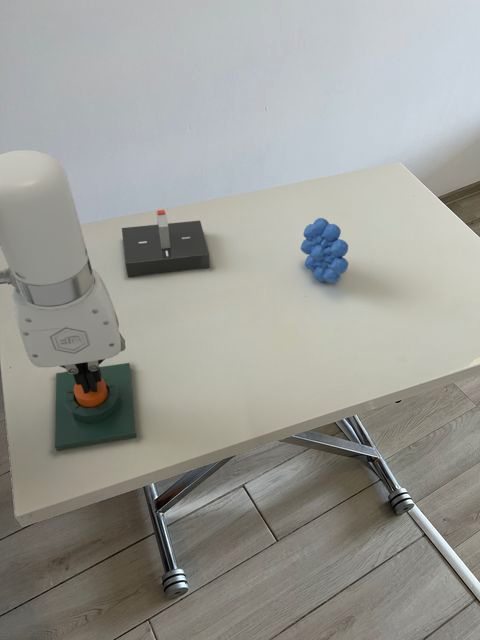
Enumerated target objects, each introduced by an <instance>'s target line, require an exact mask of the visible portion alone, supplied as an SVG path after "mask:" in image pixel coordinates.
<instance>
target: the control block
mask: <svg viewBox="0 0 480 640" xmlns="http://www.w3.org/2000/svg"><path fill="white" fill-rule="evenodd" d="M99 368H100V371H101V378H102V379H103V380H104V381H105V384H106V388H107V391H108V395H107V398H106V400H105V401H104V402H103V403H102V404H100V405H99V406H96V407H91V408H88V407H84V406H81V405H80V404H79V403H78V401H77V399H76V396H75V394H74V386H75V384H76V381H75V379H74V376H73V374H70V373H68V371H63V372H56V374H55V409H54V410H55V411H54V412H55V413H54V414H55V415H54V419H55V420H54V448H55V450H56V452H59V451H65V450H71V449H78V448H84V447H89V446H94V445H101V444H106V443H112V442H118V441H124V440H128V439H129V440H130V439H131V440H132V439H136V438H137V437H138V435H137V424H136V414H135V413H136V412H135V404H134V403H135V402H134V391H133V381H132V372H131V371H132V370H131V365H130V362H126V363H124V362H123V363H118V364H110V365H103V366H99Z"/></svg>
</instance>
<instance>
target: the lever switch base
mask: <svg viewBox="0 0 480 640" xmlns="http://www.w3.org/2000/svg"><path fill="white" fill-rule="evenodd" d="M167 223H168V229H169V239H170V248H166V249H162V248H161V242H160V237H159V230H158V224H148V225H140V226H139V225H137V226H129V227H128V226H127V227H121V236H122V244H123V245H122V247H123V254H124V263H125V270H126V276H127V277H128V278H133V277H141V276H142V277H144V276H152V275H158V274H159V275H160V274H168V273H177V272H185V271H194V270H203V269H210V268H211V264H210V263H211V261H210V252H209V248H208V244H207V241H206V237H205V236H206V235H205V233H204V230H203V229H204V228H203V225H202V221H201V220H200V219H199V220H190V221H181V222H170V223H169V222H167Z"/></svg>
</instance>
